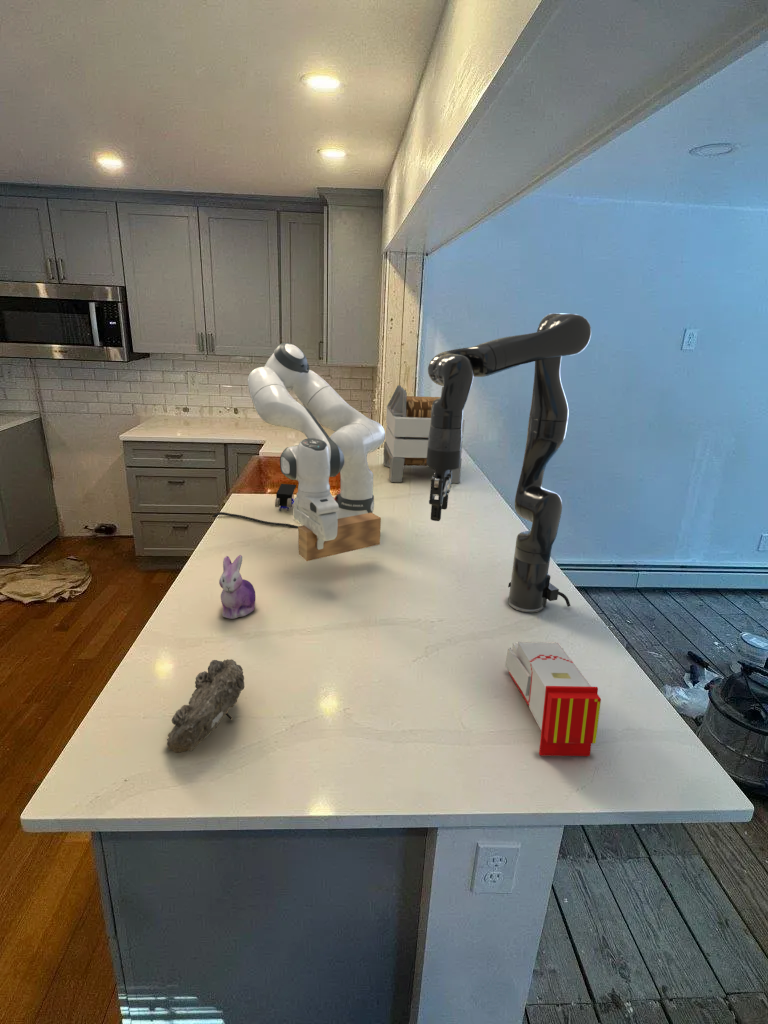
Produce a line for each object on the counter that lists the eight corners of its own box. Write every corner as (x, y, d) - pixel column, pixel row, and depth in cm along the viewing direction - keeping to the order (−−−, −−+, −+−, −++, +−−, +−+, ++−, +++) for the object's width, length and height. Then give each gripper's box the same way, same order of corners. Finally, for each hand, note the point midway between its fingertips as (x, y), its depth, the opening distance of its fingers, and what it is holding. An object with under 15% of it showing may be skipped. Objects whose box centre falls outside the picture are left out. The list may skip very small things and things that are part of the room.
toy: (554, 624, 127) (610, 694, 97) (548, 679, 130) (602, 763, 100) (500, 623, 126) (541, 693, 97) (496, 678, 129) (534, 763, 100)
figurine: (224, 623, 139) (221, 568, 134) (215, 604, 148) (212, 552, 142) (262, 616, 143) (260, 562, 138) (251, 598, 152) (249, 546, 147)
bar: (307, 561, 159) (306, 532, 156) (298, 554, 163) (298, 526, 160) (380, 544, 172) (381, 517, 169) (370, 538, 176) (371, 512, 173)
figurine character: (292, 516, 215) (297, 499, 228) (291, 498, 212) (296, 482, 225) (274, 516, 215) (280, 499, 228) (273, 498, 211) (279, 482, 225)
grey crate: (382, 463, 289) (386, 382, 275) (445, 464, 293) (451, 384, 279) (390, 482, 257) (394, 392, 243) (460, 483, 261) (468, 394, 247)
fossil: (192, 660, 117) (244, 628, 112) (224, 691, 120) (276, 661, 115) (142, 746, 98) (202, 712, 93) (182, 779, 101) (242, 748, 96)
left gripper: (287, 489, 163) (288, 534, 168) (321, 510, 147) (320, 559, 152) (307, 486, 166) (307, 530, 171) (342, 507, 151) (341, 554, 155)
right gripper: (456, 455, 119) (449, 527, 124) (465, 441, 132) (459, 507, 137) (421, 451, 121) (416, 522, 126) (434, 438, 134) (429, 503, 139)
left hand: (313, 544), depth 161 cm, fingers closed on bar, 5 cm apart
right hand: (439, 514), depth 132 cm, fingers open, 8 cm apart
